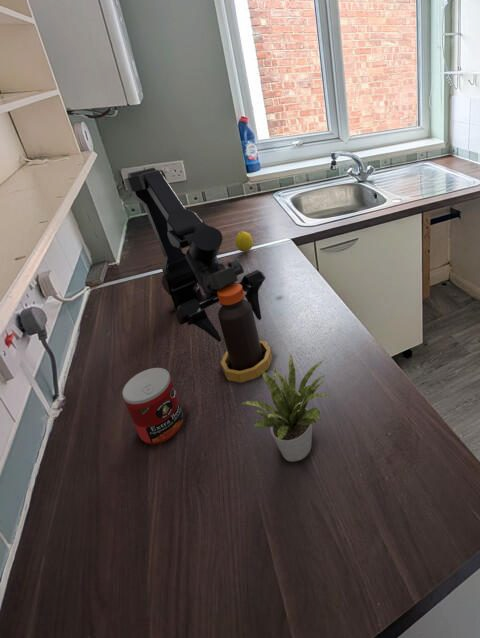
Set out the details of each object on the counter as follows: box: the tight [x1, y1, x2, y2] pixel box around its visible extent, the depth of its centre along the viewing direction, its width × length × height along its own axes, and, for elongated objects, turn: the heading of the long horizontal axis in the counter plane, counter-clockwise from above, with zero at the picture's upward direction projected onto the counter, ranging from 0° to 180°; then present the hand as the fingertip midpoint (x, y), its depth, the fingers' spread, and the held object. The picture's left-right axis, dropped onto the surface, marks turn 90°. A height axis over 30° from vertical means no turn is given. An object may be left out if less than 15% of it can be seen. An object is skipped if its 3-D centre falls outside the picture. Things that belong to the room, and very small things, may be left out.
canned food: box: [122, 367, 184, 445], centre depth 74 cm, size 8×8×11 cm
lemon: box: [235, 230, 254, 253], centre depth 139 cm, size 6×6×8 cm
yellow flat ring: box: [220, 339, 273, 384], centre depth 90 cm, size 10×11×2 cm
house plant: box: [240, 353, 330, 463], centre depth 68 cm, size 14×14×16 cm
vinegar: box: [217, 282, 264, 371], centre depth 87 cm, size 7×7×20 cm
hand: (241, 329), depth 86 cm, fingers open, 9 cm apart
